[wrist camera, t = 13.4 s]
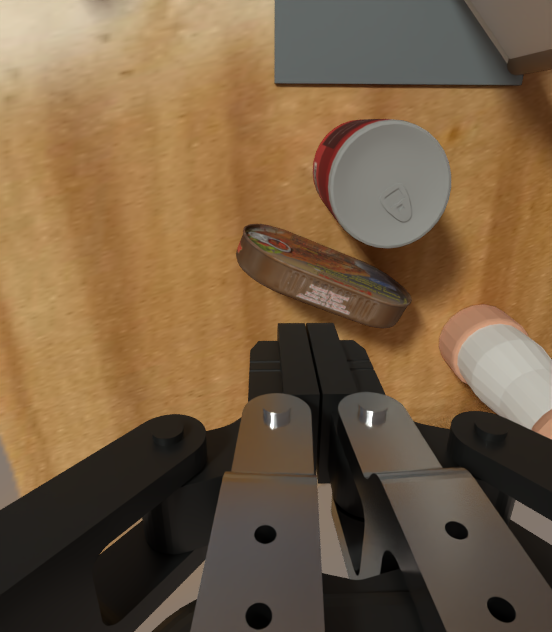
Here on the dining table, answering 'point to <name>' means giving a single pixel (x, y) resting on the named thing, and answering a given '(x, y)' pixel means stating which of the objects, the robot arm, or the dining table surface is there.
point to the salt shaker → (501, 365)
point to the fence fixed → (521, 31)
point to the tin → (321, 276)
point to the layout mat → (387, 43)
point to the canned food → (383, 180)
